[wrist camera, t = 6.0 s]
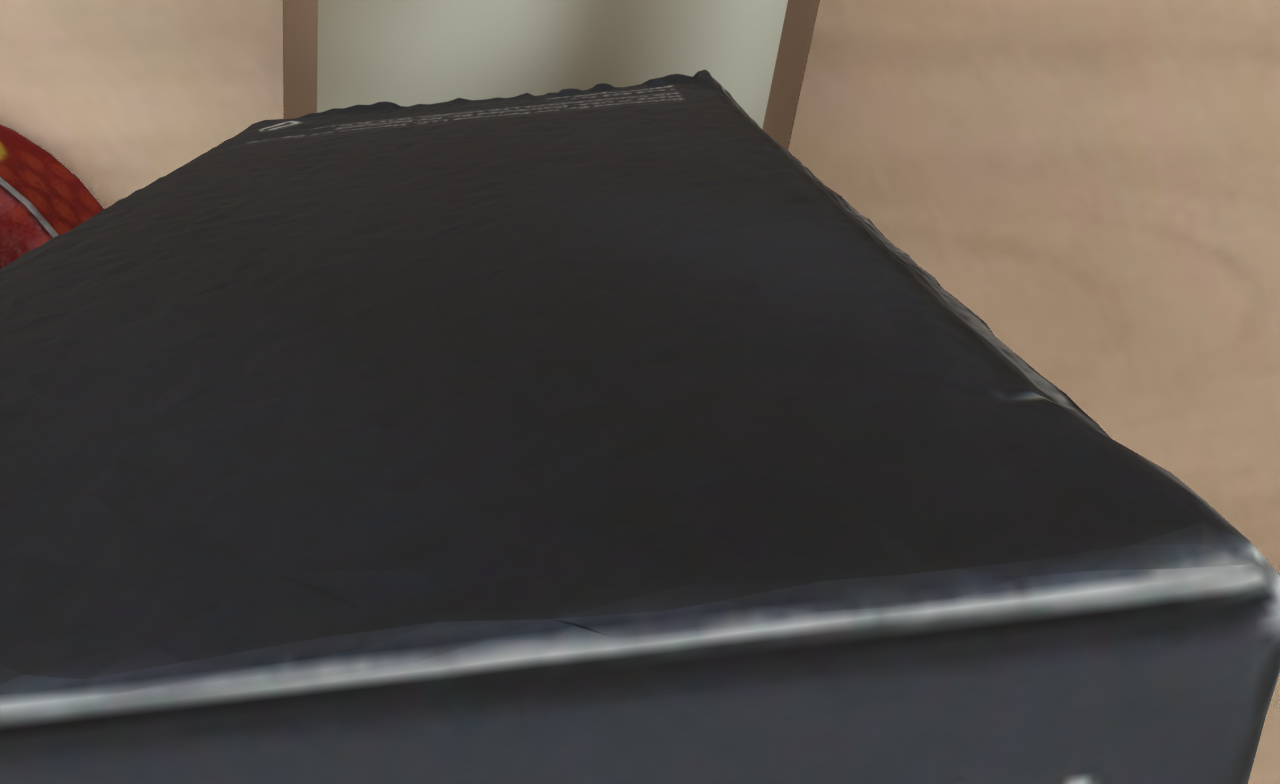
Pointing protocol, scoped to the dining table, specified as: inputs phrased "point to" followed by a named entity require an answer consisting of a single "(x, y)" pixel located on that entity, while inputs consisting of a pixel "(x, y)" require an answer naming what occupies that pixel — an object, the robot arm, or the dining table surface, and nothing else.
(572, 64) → the base
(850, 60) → the dining table surface
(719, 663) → the small box
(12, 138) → the canned food
